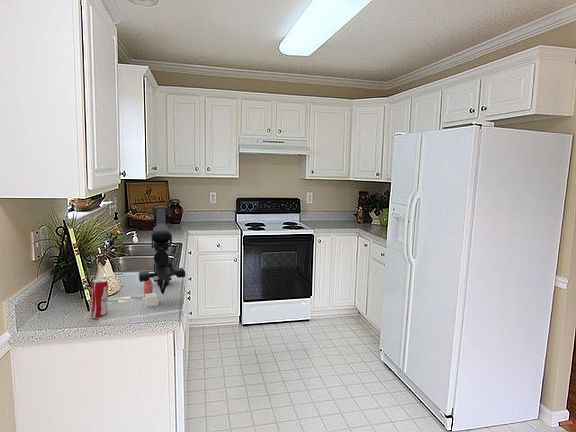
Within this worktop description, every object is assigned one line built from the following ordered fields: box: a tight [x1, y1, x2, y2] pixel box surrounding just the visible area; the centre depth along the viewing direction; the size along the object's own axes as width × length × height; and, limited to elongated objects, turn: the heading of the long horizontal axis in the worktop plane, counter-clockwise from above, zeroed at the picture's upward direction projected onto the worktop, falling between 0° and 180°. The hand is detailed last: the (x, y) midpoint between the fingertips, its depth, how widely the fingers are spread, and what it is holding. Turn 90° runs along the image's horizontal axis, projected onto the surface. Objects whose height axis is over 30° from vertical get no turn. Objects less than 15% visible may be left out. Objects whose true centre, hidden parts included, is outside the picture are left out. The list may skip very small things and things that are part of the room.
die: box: [144, 292, 160, 307], centre depth 165 cm, size 5×5×5 cm
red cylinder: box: [143, 278, 154, 297], centre depth 173 cm, size 4×4×8 cm
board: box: [107, 294, 145, 305], centre depth 170 cm, size 6×20×1 cm, turn 115°
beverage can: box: [90, 278, 109, 320], centre depth 152 cm, size 6×6×15 cm
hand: (162, 293), depth 166 cm, fingers closed
